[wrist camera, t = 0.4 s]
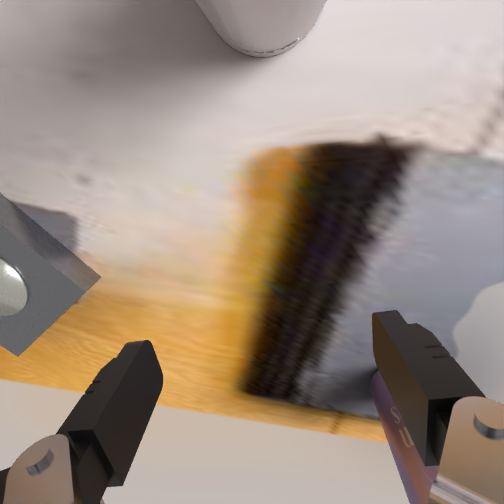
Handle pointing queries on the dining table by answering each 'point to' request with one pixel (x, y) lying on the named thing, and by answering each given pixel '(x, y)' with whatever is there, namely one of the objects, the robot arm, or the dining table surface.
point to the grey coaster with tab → (34, 279)
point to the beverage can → (402, 445)
